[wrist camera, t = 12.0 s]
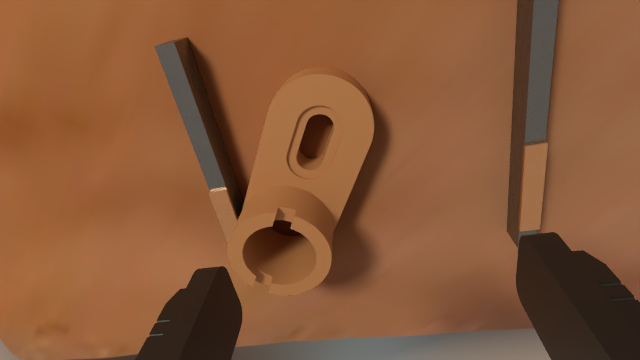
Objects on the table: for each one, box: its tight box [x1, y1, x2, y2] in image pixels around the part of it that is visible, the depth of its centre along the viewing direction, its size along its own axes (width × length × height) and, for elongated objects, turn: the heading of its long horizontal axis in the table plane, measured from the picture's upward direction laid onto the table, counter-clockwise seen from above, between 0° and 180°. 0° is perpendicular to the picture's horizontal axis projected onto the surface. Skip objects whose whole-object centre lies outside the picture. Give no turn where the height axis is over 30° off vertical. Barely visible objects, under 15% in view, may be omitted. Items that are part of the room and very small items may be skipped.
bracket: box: [227, 67, 374, 295], centre depth 30 cm, size 18×8×7 cm, turn 162°
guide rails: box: [155, 0, 559, 248], centre depth 30 cm, size 22×27×3 cm
